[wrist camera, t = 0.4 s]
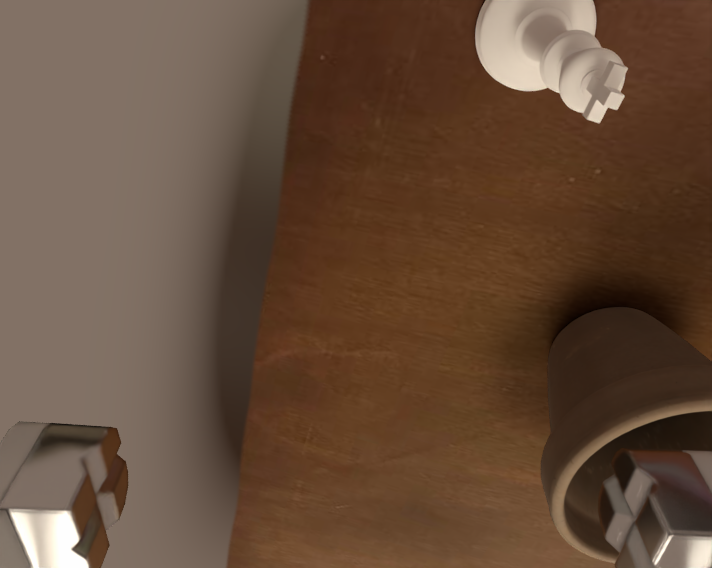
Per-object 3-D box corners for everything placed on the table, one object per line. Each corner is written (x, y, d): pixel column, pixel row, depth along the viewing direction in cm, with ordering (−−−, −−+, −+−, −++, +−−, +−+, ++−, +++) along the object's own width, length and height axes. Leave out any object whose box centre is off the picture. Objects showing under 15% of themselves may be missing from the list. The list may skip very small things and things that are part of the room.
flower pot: (721, 389, 37) (826, 539, 29) (536, 441, 40) (583, 593, 31) (695, 235, 31) (817, 366, 23) (481, 309, 34) (520, 450, 26)
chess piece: (615, -14, 25) (741, 39, 17) (560, 102, 28) (645, 198, 19) (503, -53, 24) (576, -17, 16) (457, 70, 27) (499, 156, 19)
